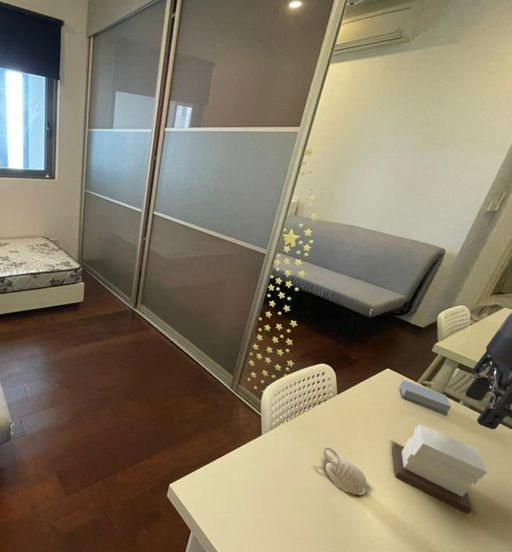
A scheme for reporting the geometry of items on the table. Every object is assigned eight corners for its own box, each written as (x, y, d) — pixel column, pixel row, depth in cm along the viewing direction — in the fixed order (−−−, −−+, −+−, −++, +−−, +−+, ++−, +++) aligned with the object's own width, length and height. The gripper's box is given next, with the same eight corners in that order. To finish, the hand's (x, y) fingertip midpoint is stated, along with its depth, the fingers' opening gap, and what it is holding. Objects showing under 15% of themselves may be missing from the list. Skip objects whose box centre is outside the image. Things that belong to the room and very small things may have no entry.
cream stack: (457, 478, 67) (477, 453, 64) (467, 514, 60) (491, 489, 57) (391, 447, 73) (407, 423, 70) (395, 476, 66) (412, 452, 63)
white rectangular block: (472, 456, 63) (477, 449, 62) (480, 479, 59) (487, 472, 58) (414, 430, 68) (418, 424, 67) (417, 450, 63) (422, 443, 63)
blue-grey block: (440, 407, 86) (448, 396, 85) (444, 419, 82) (452, 408, 81) (396, 389, 91) (403, 379, 89) (398, 400, 87) (405, 389, 85)
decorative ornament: (358, 502, 60) (370, 484, 58) (312, 467, 66) (322, 449, 64) (365, 490, 62) (377, 473, 60) (320, 457, 68) (330, 440, 66)
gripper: (593, 371, 45) (522, 449, 52) (548, 329, 56) (494, 399, 62) (516, 348, 49) (459, 424, 55) (488, 313, 59) (443, 380, 66)
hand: (478, 410), depth 59 cm, fingers open, 8 cm apart
